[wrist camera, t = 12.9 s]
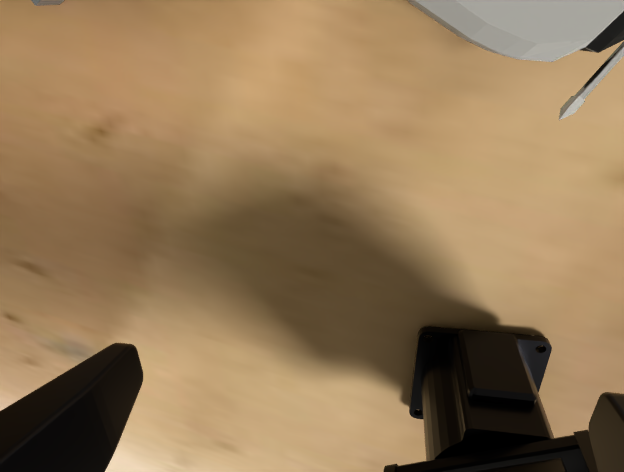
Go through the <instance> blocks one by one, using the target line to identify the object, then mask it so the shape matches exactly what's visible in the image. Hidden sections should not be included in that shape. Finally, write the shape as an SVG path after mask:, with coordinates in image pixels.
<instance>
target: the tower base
mask: <svg viewBox="0 0 624 472" xmlns="http://www.w3.org/2000/svg"><path fill="white" fill-rule="evenodd" d="M31 1H32V2H33V3H34V4H35V6H40V5H60V4H61V3H62V2H63V1H64V0H31Z"/></svg>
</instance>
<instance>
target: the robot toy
mask: <svg viewBox="0 0 624 472" xmlns="http://www.w3.org/2000/svg"><path fill="white" fill-rule="evenodd" d="M408 2H409V3H411V4H412V5H413V6H415V7H416V8H418V9H419V10H421V11H422V12H424V13H425V14H427V15H428V16H429V17H431V18H432V19H434V20H435V21H437V22H438V23H440V24H441V25H443V26H444V27H446V28H447V29H448V30H450V31H451V32H453V33H454V34H456V35H457V36H459V37H461V38H463V39H465V40H467V41H469V42H471V43H473V44H475V45H477V46H479V47H481V48H483V49H485V50H487V51H490V52H493V53H496V54H500V55H503V56H507V57H511V58H515V59H521V60H535V61H548V62H553V61H555V60H558V59H560V58H562V57H564V56H567V55H569V54H571V53H573V52H575V51H578V50H583V51H591V52H598V53H599V52H601V51H603V50H605V49H607V48H609V47H611V46H613V45H615V44H617V43H619V42H621V41H623V40H624V0H408ZM623 56H624V42H623V43H622V44H621V45H620V46H619V47H618V48H617V49H616V50H615V52H614V53H613V54H612V55H611V56H610V57H609V58H608V59H607V60H606V62H605V63H604V64H603V65H602V66H601V67H600V68H599V69H598V70H597V72H596V73H595V74H594V75H593V76H592V77H591V78H590V79H589V80H588V82H587V83H586V84H585V85H584V86H583V87H582V88H581V89H580V90H579V92H578V93H577V94H576V95H575V96H572V97H571V98H570V99H569V100H568V101H567V102H566V103H565V104H564V105H563V107H562V108H561V110H560V116H559V120H561V119H563V118H565V117H567V116H570V115H572V114H574V113H575V112H576V111H577V110H578V108H579V107H580V106H581V105H582V104H583V103H584V102H585V101H584V99H585V98H586V97H587V96H588V95H589V93H590V92H591V91H592V90H593V89H594V88H595V87H596V86H597V85H598V83H599V82H600V81H601V80H602V79H603V78H604V77H605V76H606V75H607V74H608V72H609V71H610V70H611V69H612V68H613V67H614V66H615V65H616V64H617V62H618V61H619V60H620V59H621V58H622V57H623Z"/></svg>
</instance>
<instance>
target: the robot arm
mask: <svg viewBox="0 0 624 472" xmlns="http://www.w3.org/2000/svg"><path fill="white" fill-rule="evenodd" d="M426 335H430V336H432V337H430V338H426V337H425V336H426ZM540 345H543V346H542V347H540V348H537V346H540ZM551 349H552V347H551V345H550V343H549V341H548V339H547V338H545V337H542V336H533V335H521V334H510V333H498V332H487V331H475V330H464V329H452V328H440V327H423V328H421V329H420V330H419V332H418V339H417V347H416V355H415V363H414V371H413V379H412V388H411V396H410V404H409V412H410V415H411V416H412V417H414V418H417V419H424V433H425V447H426V461H423V462H417V463H411V464H406V465H400V466H398V465H397V464H393V465H387V466H385V468H384V472H624V394H620V393H610V392H605V393H603V394H601V395H600V397H599V399H598V402H597V404H596V407H595V409H594V412H593V414H592V417H591V419H590V422H589V432H588V430H584V431H578V432H574V435H570V436H564V437H559V438H554V436H553V433H552V430H551V428H550V425H549V422H548V419H547V416H546V414H545V411H544V408H543V405H542V402H541V400H540V397H539V394H538V392H539V389H540V386H541V382H542V379H543V376H544V373H545V370H546V366H547V363H548V360H549V357H550V353H551ZM142 382H143V370H142V367H141V363H140V359H139V355H138V352H137V349H136V347H135V346H134V345H132V344H125V343H114V344H112V345H110V346H108V347H107V348H105V349H103V350H102V351H100V352H98V353H97V354H95V355H93V356H92V357H90V358H88V359H87V360H85V361H83V362H82V363H80V364H78V365H77V366H75V367H73V368H72V369H70V370H68V371H67V372H65V373H63V374H62V375H60V376H58V377H57V378H55V379H53V380H52V381H50V382H48V383H47V384H45V385H43V386H42V387H40V388H38V389H37V390H35V391H33V392H32V393H30V394H28V395H27V396H25V397H23V398H22V399H20V400H18V401H17V402H15V403H13V404H12V405H10V406H8V407H7V408H5V409H3V410H2V411H0V472H105V470H106V468H107V466H108V464H109V462H110V460H111V458H112V456H113V454H114V452H115V450H116V447H117V445H118V443H119V440H120V438H121V435H122V433H123V430H124V428H125V425H126V423H127V420H128V418H129V415H130V413H131V410H132V408H133V405H134V403H135V400H136V398H137V395H138V393H139V390H140V388H141V385H142Z"/></svg>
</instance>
